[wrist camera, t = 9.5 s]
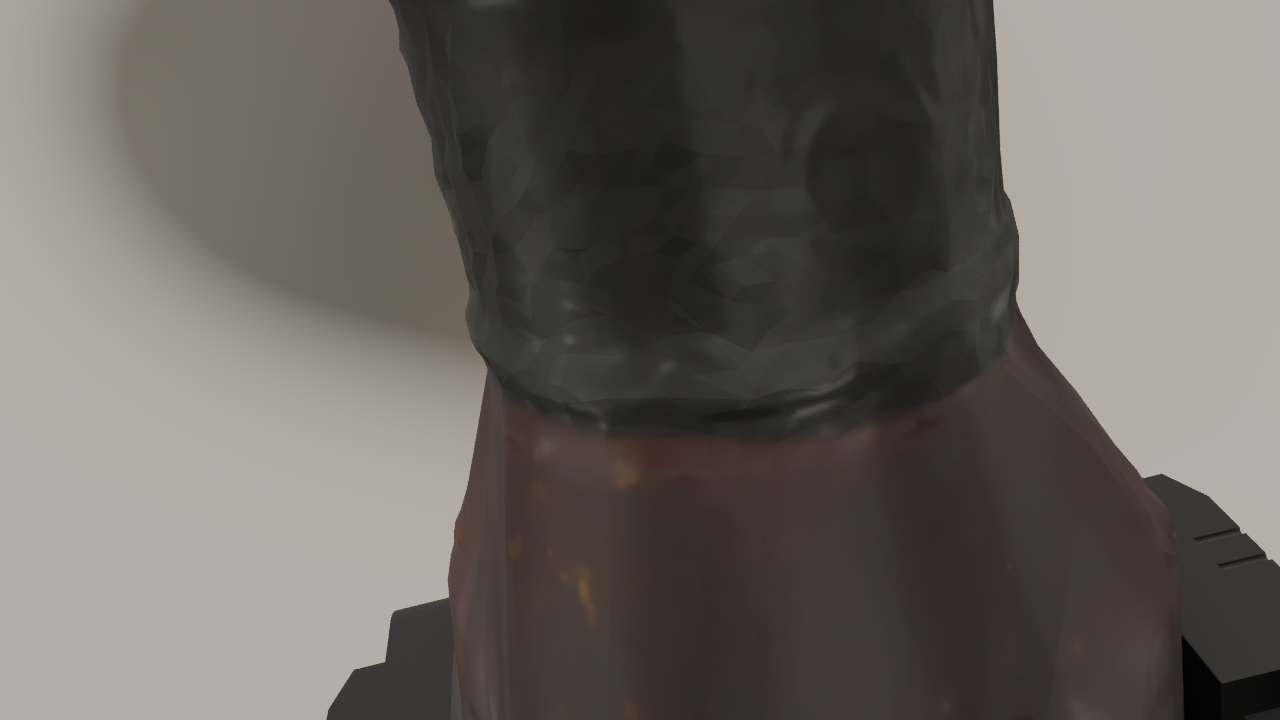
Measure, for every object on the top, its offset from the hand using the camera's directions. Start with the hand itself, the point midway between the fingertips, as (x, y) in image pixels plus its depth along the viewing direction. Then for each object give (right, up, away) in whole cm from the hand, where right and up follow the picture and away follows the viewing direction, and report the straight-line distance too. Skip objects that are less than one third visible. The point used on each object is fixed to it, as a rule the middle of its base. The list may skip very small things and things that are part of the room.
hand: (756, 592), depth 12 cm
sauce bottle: (+3, -11, +3) cm, 11 cm away
